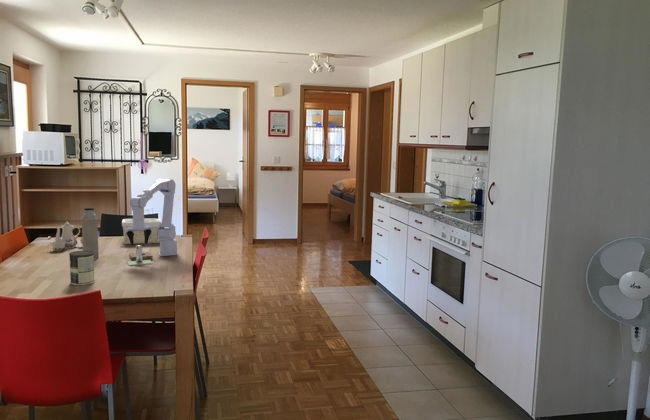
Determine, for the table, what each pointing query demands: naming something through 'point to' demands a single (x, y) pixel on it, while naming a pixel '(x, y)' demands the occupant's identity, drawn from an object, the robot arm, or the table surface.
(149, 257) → the eye block
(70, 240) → the chinaware
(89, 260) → the coffee can
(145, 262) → the sage mat
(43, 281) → the table surface
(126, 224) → the storage basket
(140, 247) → the steel peg
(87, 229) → the thermos bottle
